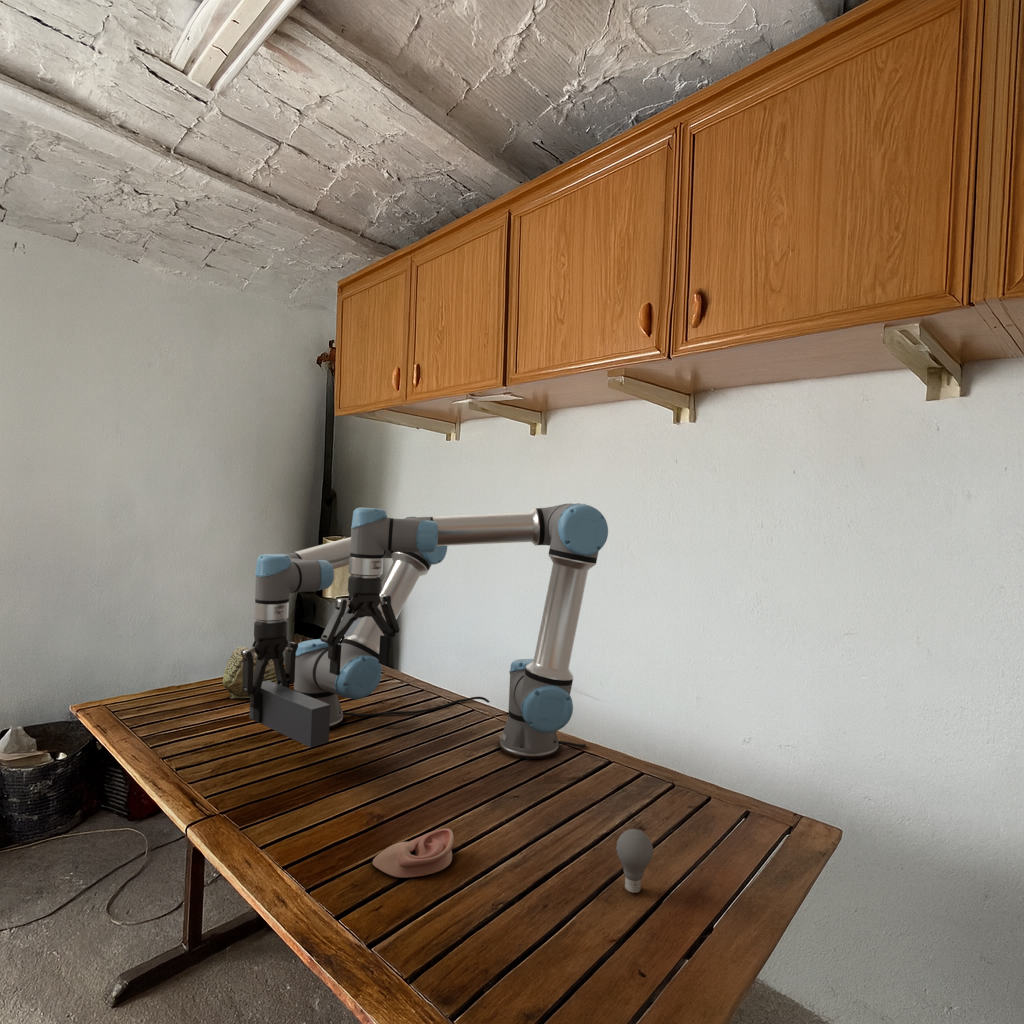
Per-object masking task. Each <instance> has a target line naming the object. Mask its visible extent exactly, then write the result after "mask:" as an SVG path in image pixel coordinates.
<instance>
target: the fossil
mask: <svg viewBox="0 0 1024 1024" xmlns="http://www.w3.org/2000/svg"><path fill="white" fill-rule="evenodd" d="M249 648H250V647H247V646H246V647H245V646H238V647H237V648H236V649H235V650H233V651H232V653H231V656H230V657H229V659H228V660H227V663H226V666H225V668H224V671H223V675H222V676H223V677H222V685H223V687H224V688H225V690H226V691H228V693H229V698H230V699H250V694H248V693H246V692H244V691H243V690H242V683H243V658H242V655H241V651H242V650H247V649H249ZM256 658H257V654H256V653H255V652H254V657H253V662H254V664H253V675H254V671H255V667H256ZM267 680H269V681H271V682H274V683H276V684H278V683H277V678H276V673H275V668H274V662H273V660H272V659H271V660H269V662H268V665H267V666H266V669H265V673H264V678H263V681H267Z"/></svg>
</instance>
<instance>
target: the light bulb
mask: <svg viewBox="0 0 1024 1024" xmlns="http://www.w3.org/2000/svg"><path fill="white" fill-rule="evenodd" d="M615 849H616V854H617V857H618V859H619V861H620V863H621V865H622V867H623V873H624V874H623V875H624V876H625V878H624V888H625V890H627V891H628V892H630V893H634V894H635V893H639V892H640V891H641V889H642V887H641V886H642V879H643V877H644V875H645V871H646V868H647V867H648V866H649V864H650V863H651V861H652V859H653V855H654V847H653V843H652V841H651V838H649V836H648V835H647V834H646V833H645V832H643V831H642V830H641V829H636V828H629V829H627V830H625V831H623V832H622V833H621V834H620V835H619V837H618V839H617V841H616V847H615Z"/></svg>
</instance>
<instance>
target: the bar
mask: <svg viewBox="0 0 1024 1024" xmlns="http://www.w3.org/2000/svg"><path fill="white" fill-rule="evenodd" d="M260 693H261V694H263V706H262V722H260V723H259V724H260V725H262V726H264V727H266V728H268V729H271V730H273V731H275V732H277V733H278V734H281V735H282V736H286V737H288V738H289V739H292V740H294V741H296V742H298V743H300V744H302V745H304V746H306V747H308V748H310V749H311V748H315V747H317V746H320V745H323V744H327V743H329V742H330V729H329V724H330V704H327V703H325V702H322V701H320V700H317V699H315V698H312V697H309V696H307V695H304V694H302V693H299V692H297V691H294V689H292V688H290V687H289V688H287V687H284V686H282V685H279V684H276V683H274V682H271V681H269V680H267V681H263V682H262V686H261V690H260ZM250 698H251V694H250ZM250 698H249V699H250ZM249 720H252V721H254V720H253V708H252V707H251V706H250V705H249Z"/></svg>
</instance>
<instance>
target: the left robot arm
mask: <svg viewBox="0 0 1024 1024" xmlns="http://www.w3.org/2000/svg"><path fill="white" fill-rule="evenodd" d="M350 546H351V536H350V537H349V536H348V537H346V538H342V539H338V540H335V541H330V542H327V543H324V544H319V545H316V546H310V547H308V548H304V549H300V550H296V551H293V552H289V553H264V554H261V555H258V557H257V560H256V564H255V565H256V566H255V573H254V576H255V589H254V591H255V592H254V613H253V615H254V616H253V617H254V619H255V621H254V623H253V638H254V640H253V643H252V646H251V647H248V648H249V649H247V650H242V651H241V655H242V658H243V683H242V690H243V691H244V692H246V693H248V694H251V698H249V707H250V706H251V707H252V708H253V720H252V721H253V722H256V723H258V724H260V722H262V706H263V694H261V693H260V690H261V686H262V682H263V678H264V673H265V669H266V666H267V665H268V662H269V660H271V659H272V660H273V662H274V668H275V673H276V678H277V683H278V684H279V685H282V686H284V687H287V688H289V689H290V686H291V685H293V690H294V691H297V692H299V693H302V694H304V695H307V696H309V697H312V698H315V699H317V700H320V701H322V702H325V703H327V704H330V724H329V730H332V729H335V728H337V727H339V726H340V725H342V723H343V722H344V716H349V717H359V718H361V717H362V718H363V717H376V716H385V715H388V716H389V715H412V714H413V715H414V714H422V713H428V712H431V711H435V710H438V709H443V708H446V707H449V706H453V705H454V704H458V703H463V702H468V701H472V700H473V701H474V700H482V701H484V702H486V703H491V701H490V700H489V699H487V698H486V697H483V696H471V697H465V698H462V699H461V698H460V699H456V700H453V701H450V702H447V703H444V704H440V705H437V706H433V707H429V708H425V709H418V710H417V709H416V710H398V711H397V710H395V711H381V712H371V713H370V712H369V713H355V712H347V711H345V712H344V711H343V709H342V706H341V702H340V699H339V696H340V697H341V698H344V699H351V700H362V699H364V698H367V697H368V696H369V695H371V694H372V693H373V692H374V691H375V690H376V689H377V688H378V686H379V685H380V682H381V680H382V677H383V673H382V671H383V667H382V664H380V663H378V662H379V646H380V636H381V635H383V636H384V634H383V633H382V631H381V630H380V628H379V627H378V625H377V624H376V622H375V621H374V619H373V618H372V617H367V616H365V617H363V618H360V620H359V622H358V624H357V626H356V628H355V630H354V631H353V633H352V634H351V635H349V636H346V637H343V638H342V639H343V640H342V641H341V643H340V642H339V643H338V644H340V645H342V646H341V662H340V675H335V674H332V673H329V672H330V659H328V643H325V642H322V641H321V638H317V639H316V638H315V639H308V640H304V641H300V642H299V643H296V642H293V641H289V639H288V634H289V621H288V620H287V619H288V618H289V605H290V604H289V603H290V594H295V593H304V592H314V591H316V592H320V591H321V590H327V589H329V588H330V587H331V586H332V585H333V584H334V580H335V570H336V569H339V568H342V567H346V566H349V561H350ZM447 552H448V546H437V549H436V551H435V552H433V553H420V552H404V551H388V550H384V557H383V558H384V559H391V560H392V564H391V565H390V567H389V569H388V571H387V572H386V575H385V576H384V578H383V579H382V591H381V593H380V594H379V595H380V596H381V595H382V594H384V595H389V596H391V606H392V609H393V612H394V615H395V618H396V620H398V618H399V616H400V614H401V612H402V610H403V608H404V606H405V604H406V602H407V601H408V599H409V597H410V596H411V593H412V592H413V590H414V588H415V586H416V583H417V582H418V580H419V578H420V577H422V576H425V575H427V574H428V572H429V570H430V569H431V567H432V565H438V564H441V563H442V562H443V561H444V559H445V558H446V555H447ZM378 608H379V610H380V611H381V613H382V616H383V618H384V619H385V616H384V614H383V611H382V608H381V604H379V605H378ZM385 621H386V619H385ZM284 651H285V656H284ZM254 652H255V653H256V654H257V658H256V667H255V671H254V675H253V664H254V662H253V657H254Z"/></svg>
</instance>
